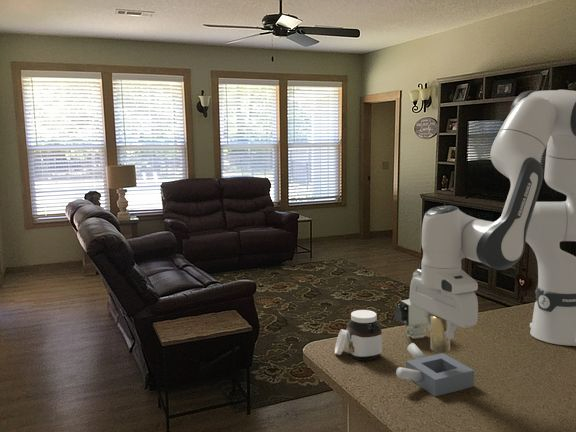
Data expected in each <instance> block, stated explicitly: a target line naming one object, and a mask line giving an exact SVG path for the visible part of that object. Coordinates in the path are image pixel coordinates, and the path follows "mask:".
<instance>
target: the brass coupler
mask: <svg viewBox="0 0 576 432" xmlns="http://www.w3.org/2000/svg"><path fill="white" fill-rule="evenodd" d="M447 328H448V325H447V321H446V320H444V319H442V318H440V317H437V316H435V315H433V314H431V330H430V350H431V351H432V352H435V353H448V352H450V351H451V339H447V338H445V337H444V330H447Z"/></svg>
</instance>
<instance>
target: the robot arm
mask: <svg viewBox="0 0 576 432" xmlns="http://www.w3.org/2000/svg"><path fill="white" fill-rule="evenodd" d="M509 110H510V111H509V114H508V115H507V117H506V118H505V120H504V121H503V123H502V125H501V126H500V128H499V130H498V132H497V135H496V136H495V138H494V140H493V143H492V145H491V148H490V153H489V154H490V155H489V156H490V161H491V163H492V165H493V167H494V168H495V169H496V170H497V171H498V172H499V173H500V174H502V175H503V176H505V177H506V178H507V179H509V182H510V186H509V187H510V188H509V191H508V194H507V196H506V197H507V198H506V200H505V203H504V206H503V209H502V212H501V216H500V217H499V218H498V219H496V220H494V221H491V220H485V219H480V218H476V217H473V216H471V215H468V214H466V213H465V212H463V211H462V210H460V209H459V207H457V206H454V205H440V206H439V205H438V206H435V207H432V208H430V209H428V210H427V211H426V212H425V213H424V216H423V219H422V226H421V248H422V259H421V269H420V268H417V269H415V270H414V272H413V273H412V278H411V281H410V284H409V285H410V286H409V296H408V297H409V298H408V299H409V300H410V303H411V305H413V306H415V307H417V308H419V309H422V310H424V315H425V318H426V320H427V322H428V323H427V330H429V331H431V314H433V315H435V316H437V317H440V318H442V319H444V320H446V321H447V325H448V328H447V330H444V337H445V338H447V339H450V340H452V339H454V338H455V331H456V329H457V328H458V327H459V328H462V329H465V328H466V329H467V328H471V327H475V326H476V324H477V323H478V319H479V303H478V301H479V300H478V296H477V294H476V292H475V291H478V289H479V286H478V285H479V284H478V282H477V280H476V279H474V278H473V277H471V276H470V275H469V274H468V273H467V272H465V270H463V269H462V260H463V259H467V260H468V259H469V260H471V261H474V262H477V263H481V264H483V265H485V266H488V267H489V268H492V269H494V270H498V271H499V270H500V271H503V270H507V269H509V268H511V267H513V266H515V265H516V264H517V263H518V262H519V260H521V258H522V256H523V255H524V252H525V248H526V247H525V246H526V243H527V244H528V245H529V246H530V248H531V249H532V251H533V253H534V254H535V258H536V261H537V275H538V276H537V277H538V279H537V286H536V289H535V299H536V301H535V302H534V307H533V314H532V319H531V322H529V328H530V331H529V334H530V335H531V336H532V337H533V338H535V339H537V340H539V341H541V342H545V343H548V344H552V345H553V344H554V345H559V346H573V347H576V256H575V255H574V254H571V253H569V252H567V251H564V250H562V249H561V247H560V245H561V244H560V243H561V242H576V90H568V89H557V90H556V89H555V90H554V89H552V90H551V89H550V90H548V89H547V90H545V89H544V90H537V89H533V90H527V91H523V92H521V93H519V95H518V96H517V97H515V99H513V101H512V103H511V105H510V109H509ZM545 149H546V152H545ZM544 152H545V161H544V162H545V163H544V168H543V165H542V163H541V162H542V158H543V154H544ZM543 179H544V181H545V183H546V185H547V186H548V187H549V188H551V189H552V190H554V191H556V192H559V193H561V194H563V195H565V196H566V200H565V201H564V200H563V201H537V200H538V198H539V194H540V190H541V187H542V185H543Z"/></svg>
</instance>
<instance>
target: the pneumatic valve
mask: <svg viewBox="0 0 576 432" xmlns="http://www.w3.org/2000/svg"><path fill="white" fill-rule="evenodd" d="M394 316H395V319H396V320H397V322H399V323H401V324H403V325H404V326H406V327H407V328H406V330H405V331H406V335H407V336H408V337H411V339H413V340H417V339H424V338H425V335H426V333H427V328H426V327H425V326H423V325H424V324H428V322H427V320H426V318H425V315H424V310H422V309H419V308H417V307H415V306H413V305H411V303H410V300H409V298H407V299H403V300H401V299H400V300H398V304H397V306H395V308H394Z"/></svg>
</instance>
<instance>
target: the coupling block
mask: <svg viewBox="0 0 576 432" xmlns="http://www.w3.org/2000/svg"><path fill="white" fill-rule="evenodd" d="M407 351H408V352H409V353H410V354H411V355H412V356H413V358H414V359H409V360H406V361H405V366H406V367H400V366H399V367H397V368H396V370H395V371H396V372H395V373H396V377H397V378H398V379H402V380H409V381H412V382H413V383H415V384H416V385H418V386H419V387H420V388H421V389H423V390H425V391H426V392H428V394H430V395H432V396H434V397H439V396H443V395H446V394H450V393H454V392H458V391H459V392H460V391H463V390H465V389H467V390H468V389H469V388H473V387H474V385H475V383H474V382H475V369H472V368H471V367H469V366H467V365H466V364H464V363H462V362H460V361H458V360H456V359H455V358H453V357H451V356H449V355H448V354H446V353H445V352H439V353H437V354H433V355H432V354H431V355H425V354H424V353H423V351H422V350H421V349H420V348H419V347H418V346H417V345H416V344H415V343H414V342H411V343H410V344H409V345H408V346H407Z"/></svg>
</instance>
